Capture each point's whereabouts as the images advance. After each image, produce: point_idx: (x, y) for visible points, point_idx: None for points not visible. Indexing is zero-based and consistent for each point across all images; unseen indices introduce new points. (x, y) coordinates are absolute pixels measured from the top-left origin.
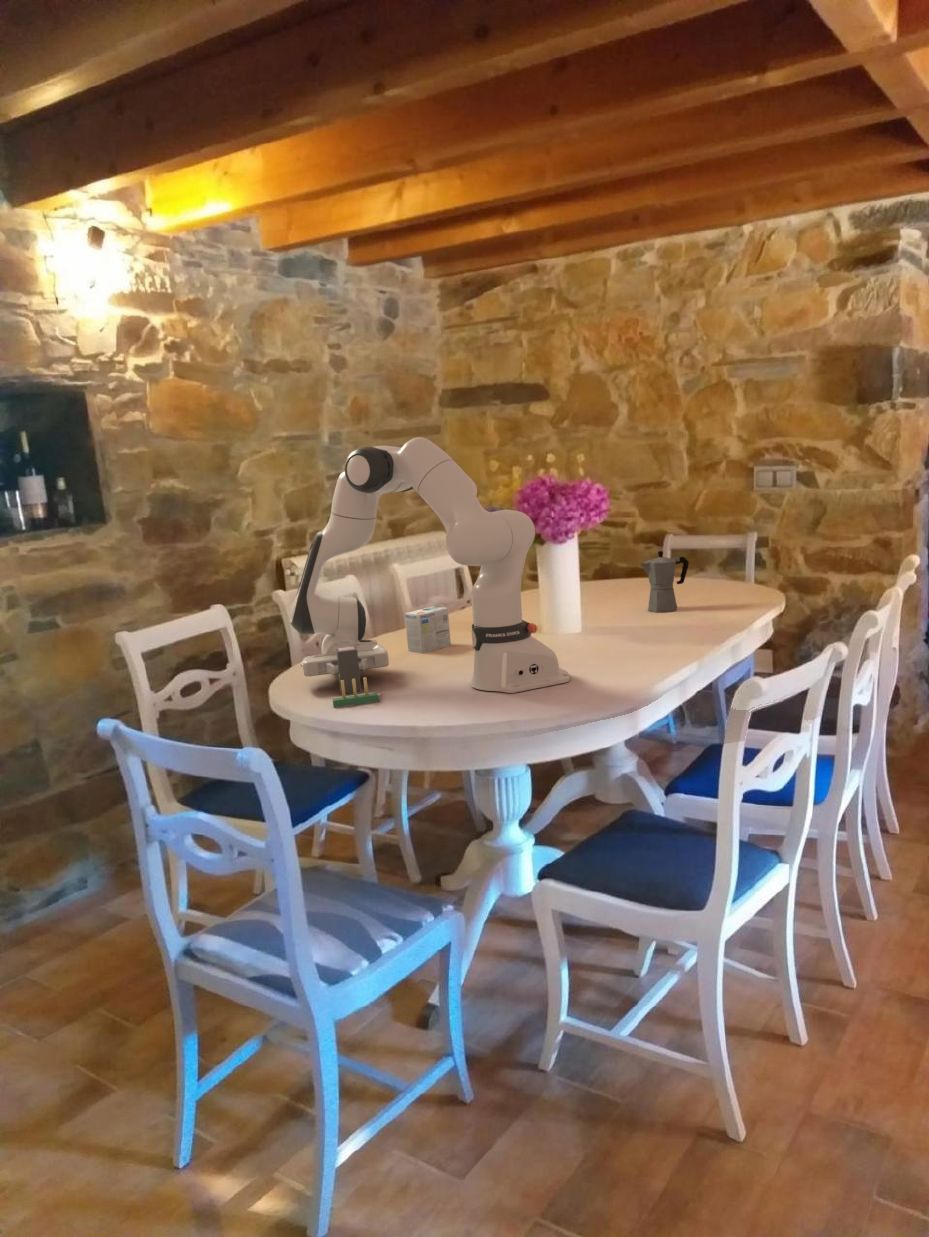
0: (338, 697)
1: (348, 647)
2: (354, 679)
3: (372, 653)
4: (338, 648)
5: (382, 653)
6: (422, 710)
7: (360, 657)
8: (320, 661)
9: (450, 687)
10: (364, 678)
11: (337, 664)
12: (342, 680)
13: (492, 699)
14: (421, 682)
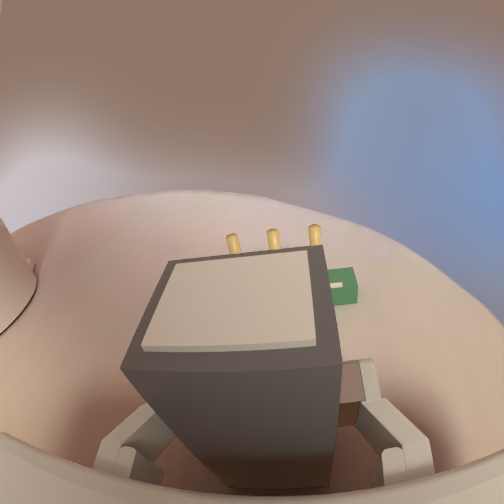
0: (336, 282)
1: (199, 321)
2: (270, 229)
3: (37, 460)
4: (309, 324)
5: (7, 435)
6: (169, 232)
7: (123, 476)
8: (482, 458)
9: (38, 330)
10: (235, 234)
11: (335, 437)
12: (313, 227)
13: (65, 251)
14: (35, 410)
